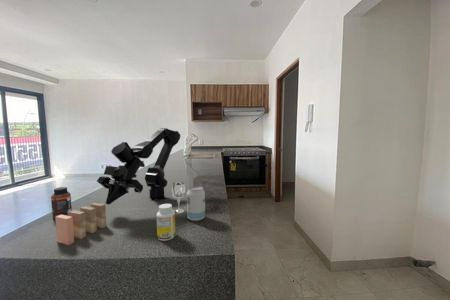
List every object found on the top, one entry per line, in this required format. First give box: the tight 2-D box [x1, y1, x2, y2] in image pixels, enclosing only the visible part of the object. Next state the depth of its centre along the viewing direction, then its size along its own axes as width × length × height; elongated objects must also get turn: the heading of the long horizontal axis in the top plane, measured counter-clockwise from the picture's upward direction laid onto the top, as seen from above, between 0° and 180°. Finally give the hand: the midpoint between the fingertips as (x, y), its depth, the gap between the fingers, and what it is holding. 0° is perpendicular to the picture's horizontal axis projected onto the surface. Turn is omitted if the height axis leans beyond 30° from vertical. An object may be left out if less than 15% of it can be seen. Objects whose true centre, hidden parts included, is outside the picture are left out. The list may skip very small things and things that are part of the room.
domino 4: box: [90, 202, 108, 229], centre depth 68 cm, size 2×5×8 cm, turn 71°
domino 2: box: [68, 209, 87, 240], centre depth 61 cm, size 2×5×8 cm, turn 71°
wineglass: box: [171, 181, 187, 214], centre depth 81 cm, size 6×6×12 cm
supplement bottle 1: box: [50, 186, 73, 219], centre depth 76 cm, size 6×6×11 cm
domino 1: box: [54, 215, 75, 246], centre depth 58 cm, size 2×5×8 cm, turn 71°
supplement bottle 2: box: [156, 203, 176, 242], centre depth 61 cm, size 6×6×10 cm
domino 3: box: [79, 205, 98, 234], centre depth 65 cm, size 2×5×8 cm, turn 71°
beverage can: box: [186, 185, 206, 222], centre depth 74 cm, size 7×7×12 cm
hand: (107, 204), depth 71 cm, fingers closed
